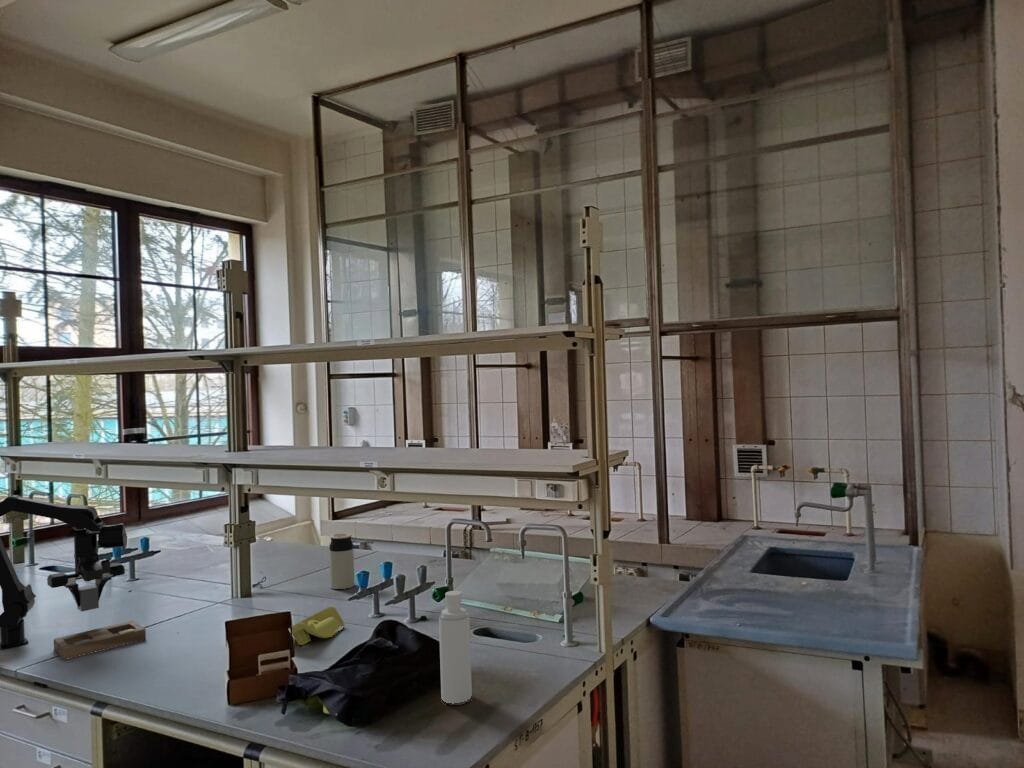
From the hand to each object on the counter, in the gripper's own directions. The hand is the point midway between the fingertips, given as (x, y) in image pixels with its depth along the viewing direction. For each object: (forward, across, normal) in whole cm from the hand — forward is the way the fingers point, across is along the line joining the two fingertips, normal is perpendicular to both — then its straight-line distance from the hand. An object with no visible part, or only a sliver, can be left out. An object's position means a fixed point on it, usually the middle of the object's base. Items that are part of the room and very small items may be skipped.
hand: (87, 604), depth 212 cm
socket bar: (+9, 0, -12) cm, 15 cm away
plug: (+1, 0, 0) cm, 1 cm away
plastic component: (+9, +42, -52) cm, 67 cm away
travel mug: (+9, +75, -14) cm, 77 cm away
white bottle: (+9, +44, -113) cm, 122 cm away
